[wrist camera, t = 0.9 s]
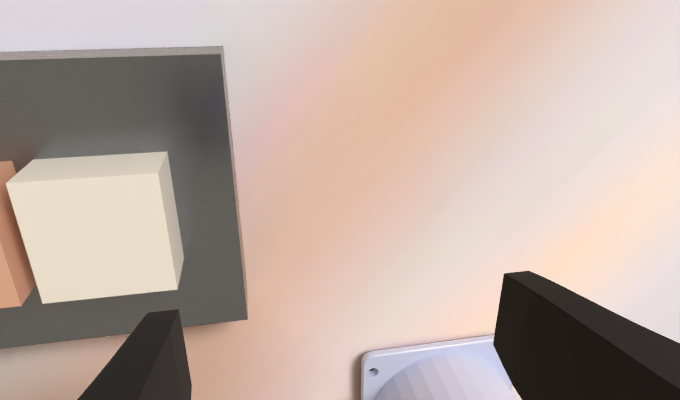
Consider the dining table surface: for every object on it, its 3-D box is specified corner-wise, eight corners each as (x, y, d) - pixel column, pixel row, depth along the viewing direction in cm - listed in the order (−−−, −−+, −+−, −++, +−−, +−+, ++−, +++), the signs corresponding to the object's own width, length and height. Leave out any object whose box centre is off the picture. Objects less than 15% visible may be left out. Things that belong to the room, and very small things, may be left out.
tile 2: (183, 257, 17) (177, 289, 16) (63, 269, 17) (42, 304, 15) (167, 151, 16) (157, 173, 14) (33, 159, 15) (5, 183, 13)
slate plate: (247, 290, 21) (247, 319, 19) (-68, 324, 19) (-102, 360, 17) (222, 46, 17) (220, 53, 15) (-183, 57, 15) (-243, 67, 13)
